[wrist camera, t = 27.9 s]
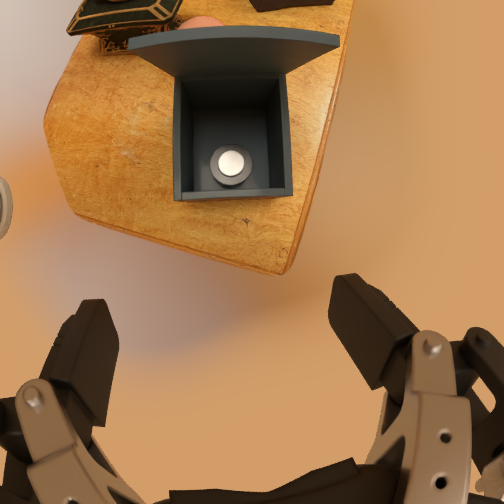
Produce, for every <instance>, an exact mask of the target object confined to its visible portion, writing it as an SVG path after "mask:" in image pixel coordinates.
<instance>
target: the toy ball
mask: <svg viewBox="0 0 504 504" xmlns="http://www.w3.org/2000/svg"><path fill="white" fill-rule="evenodd" d="M211 26H225V25H224V24H223V23H222V22H220V21H219V20H217V19H215V18H212V17H207V16H200V17H194V18H191V19H189V20H187V21H185V22H184V23H183V24H181V25H180V26H179V28H178V29H177V30H179V29H187V28H197V27H211Z"/></svg>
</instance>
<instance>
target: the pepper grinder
mask: <svg viewBox="0 0 504 504" xmlns="http://www.w3.org/2000/svg"><path fill="white" fill-rule="evenodd" d="M252 167H253V161H252V157H251V155H250V153H249V152H248V151H247V150H246V149H245V148H244V147H242V146H240V145H237V144H225V145H223V146H221V147H219V148H218V149H216V150H215V151H214V153H213V154H212V156H211V159H210V171H211V173H212V175H213V177H214V179H215V181H216V183H217V184H218V185H219V186H221V187H222V188H225V189H236V188H239V187H240V186H242V185H243V184H244V183H245V181H246V180H247V178H248V177H249V175H250V173H251V171H252Z"/></svg>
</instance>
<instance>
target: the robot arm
mask: <svg viewBox="0 0 504 504" xmlns="http://www.w3.org/2000/svg"><path fill="white" fill-rule="evenodd" d="M2 212H3V202H2V196H1V193H0V223H1V219H2ZM328 318H329V322H330V325H331V327H332V329H333V330H334V332H335V333H336V335H337V336H338V338H339V339H340V341H341V343H342V344H343V346H344V347H345V349H346V350H347V352H348V353H349V355H350V356H351V358H352V360H353V361H354V363H355V365H356V366H357V368H358V369H359V370H360V372H361V374H362V376H363V377H364V379H365V380H366V382H367V384H368V385H369V387H370V388H371V390H375V389H378V388H380V387H383V386H384V387H385V388H386V390H387V391H386V392H385V394H384V399H383V404H382V410H381V415H380V420H379V425H378V430H377V434H376V438H375V441H374V444H373V446H372V448H371V450H370V452H369V454H368V456H367V459H366V461H365V464H362V465H361V464H359V465H356V463H355V461H354V459H353V458H352V457H351V458H349V459H346V460H343V461H341V462H338V463H335V464H332V465H329V466H326V467H323V468H319V469H316V470H313V471H310V472H309V473H307V474H305V475H303V476H301V477H300V478H297V479H295V480H293V481H291V482H289V483H287V484H285V485H283V486H281V487H279V488H276V489H274V490H272V491H269V492H245V491H232V490H222V489H205V490H169V497H170V498H169V499H165V500H162V501H159V502H156V503H153V504H504V347H503V346H502V345H501V344H500V343H499V342H498V341H497V339H496V338H495V337H494V336H493V335H492V334H490V332H488V331H486V330H485V329H483V328H480V327H472V328H470V329H469V330H468V331H467V333H466V335H465V337H464V338H463V340H461V341H452V342H449V341H448V340H447V339H446V338H445V337H444V336H442V335H441V334H439V333H437V332H434V331H428V330H424V331H420V330H418V328H417V327H416V326H415V325H414V324H413V323H412V322H411V321H410V320H409V319H408V318H407V317H406V316H405V315H404V314H403V313H402V312H401V310H399V308H396V306H395V304H394V303H393V302H392V301H389V298H388V297H387V296H386V295H385V294H384V293H383V292H382V291H380V290H379V289H377V288H375V287H373V286H371V285H370V284H367V283H366V282H365V281H364V280H363V279H362V278H361V277H360V276H359V275H358V274H356V273H352V274H345V275H339V276H336V277H335V278H334V282H333V287H332V293H331V298H330V304H329V309H328ZM53 344H54V346H52V348H51V350H50V352H49V355H48V357H47V359H46V361H45V364H44V366H43V369H42V371H41V374H40V376H39V378H38V379H32V380H30V381H28V382H26V383H24V384H23V385H22V386H21V387H20V389H19V390H18V392H17V394H16V397H9V398H3V399H0V446H1V447H2V448H4V449H5V450H6V451H7V456H6V463H5V469H4V477H3V484H2V486H0V504H146V503H145V502H144V501H143V500H142V499H141V497H140V496H139V495H137V493H136V492H135V491H134V490H132V488H131V487H129V486H128V485H127V484H126V482H125V481H124V480H123V479H122V478H121V477H120V475H119V474H118V472H117V471H116V470H115V468H114V467H113V466H112V464H111V463H110V462H109V460H108V458H107V457H106V456H105V454H104V452H103V451H102V449H101V448H100V446H99V445H98V443H97V441H96V440H95V438H94V437H93V435H92V427H93V426H99V427H105V423H106V416H107V409H108V403H109V397H110V391H111V385H112V380H113V376H114V371H115V366H116V361H117V357H118V352H119V338H118V334H117V331H116V329H115V326H114V323H113V320H112V318H111V315H110V312H109V309H108V306H107V303H106V302H105V300H104V299H89V300H83V301H82V302H81V304H80V306H79V308H78V310H77V312H76V314H75V315H71V316H70V317H69V318H68V319H67V320H66V321H65V322H64V323H63V324H62V327H61V329H60V331H59V333H58V337H56V339H55V341H54V343H53ZM478 377H480V378H481V379H482V380H483V382H484V383H485V384H486V386H487V387H488V388H489V390H490V391H491V392H492V394H493V395H494V397H495V400H496V404H495V408H494V409H493V411H492V412H491V413H490V412H489V411H488V410H487V409H486V407H485V406H484V404H483V403H482V402H481V400H480V399H479V397H478V396H477V395H476V394H475V392H474V391H473V389H472V388H471V387H472V385H473V384H474V383H475V382H476V380H477V379H478ZM471 458H472V459H473V461H474V463H475V465H476V467H477V468H478V470H479V472H480V474H481V476H482V477H481V478H480V479H479V480H478V481H477V482H476V485H475V488H476V491H478V492H483V491H484V496H482V495H477V494H473V493H469V492H468V491H469V483H470V473H471Z"/></svg>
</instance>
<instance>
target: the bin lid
mask: <svg viewBox="0 0 504 504" xmlns="http://www.w3.org/2000/svg"><path fill="white" fill-rule="evenodd" d="M338 47H340V36H339V35H335V34H330V33H324V32H318V31H311V30H304V29H295V28H285V27H272V26H211V27H197V28H187V29H179V30H171V31H165V32H159V33H153V34H148V35H143V36H138V37H133V38H129V40H128V50H129V51H130V52H132V53H134V54H136V55H138V56H139V57H141V58H143V59H145V60H146V61H148V62H150V63H152V64H153V65H155V66H157V67H158V68H160V69H162V70H163V71H165V72H167V73H168V74H170V75H171V76H173V77H181V76H191V75H202V74H219V73H276V74H287V73H289V72H291V71H292V70H294V69H296V68H298V67H300V66H302V65H304V64H305V63H307V62H309V61H311V60H313V59H315V58H317V57H319V56H321V55H323V54H325V53H327V52H329V51H332V50H334V49H336V48H338Z"/></svg>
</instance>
